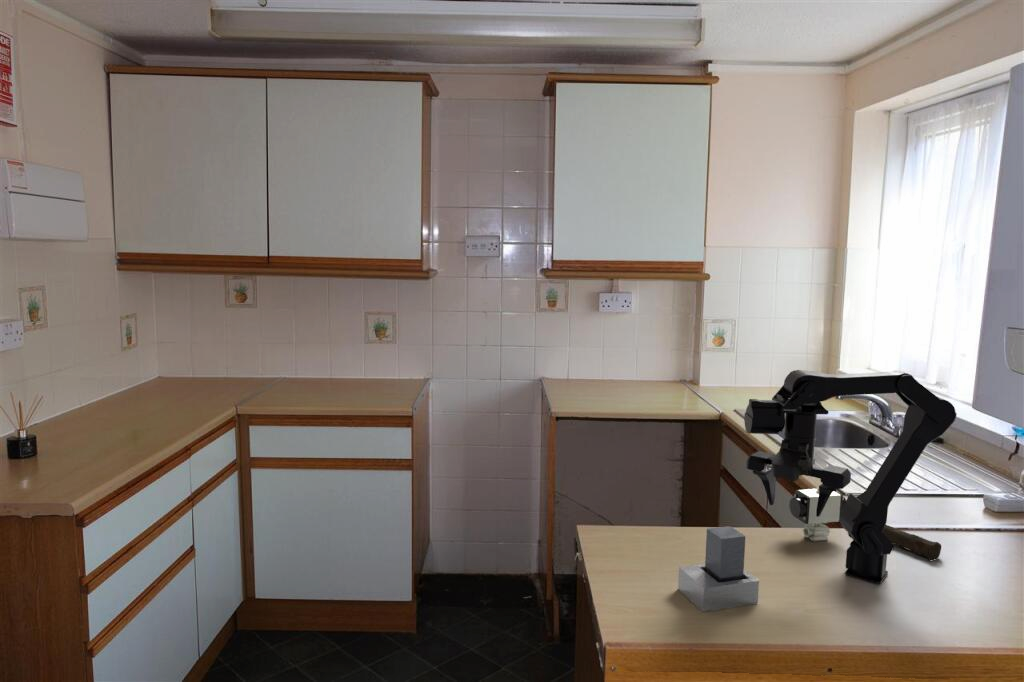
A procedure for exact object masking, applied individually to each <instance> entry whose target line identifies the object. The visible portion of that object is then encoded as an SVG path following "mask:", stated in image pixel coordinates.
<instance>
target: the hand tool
mask: <svg viewBox="0 0 1024 682" xmlns="http://www.w3.org/2000/svg"><path fill="white" fill-rule="evenodd" d="M882 533H883V534H884V535H885V536H886V537H887V538H888V539H889V540H890V541H891V542H892V543H893V544H894V545H896V546H899V547H901V548H903V549H906V550H908V551H911V552H913V553H916V554H918V555H920V556H925V557H927V558H928V560H929V561H930V560H933V561H935V560H934V559H936V560H938V559H939V557H940V555H941V551H942V545H941V543H940V542H938V541H932V540H929V539H926V538H924V537H921V536H919V535H916V534H913V533H909V532H906V531H904V530H901V529H898V528H895V527H893V526H890V525H888V524H886V525H885V527H884V530H883V532H882Z"/></svg>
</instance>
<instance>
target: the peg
mask: <svg viewBox="0 0 1024 682" xmlns="http://www.w3.org/2000/svg"><path fill="white" fill-rule="evenodd" d="M705 542H706V543H705V558H704V559H705V561H704V564H705V572H706V573H707V574H708V575H710V576H711V577H712V578H713V579H715V580H716V581H717V582H718V583H721V582H728V581H735V580H742V579H743V573H744V570H745V553H746V552H745V551H746V550H745V548H746V535H744V534H743V533H741V532H740V531H738V530H737V529H735V528H733V526H731V525H727V526H719V527H711V528H710V527H709V528H706V539H705Z"/></svg>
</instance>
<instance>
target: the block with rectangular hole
mask: <svg viewBox="0 0 1024 682" xmlns="http://www.w3.org/2000/svg"><path fill="white" fill-rule="evenodd" d="M677 580H678V585H677V590H678V589H679V590H680V591H679V592H680V593H682V594H683V595H684V597H686V598H687V599H688V600H689V601H690V602H691V603H692V604H694V606H696V607H697V608H698V610H700V611H701V612H702V613H704V612H713V611H718V610H725V609H732V608H738V607H745V606H752V605H758V604H759V603H758V601H759V590H760V589H759V588H760V587H759V586H760V580H759V579H758V578H756V577H755V576H754V575H752V574H751V573H749V572H748V571H747V570H746V569H744V573H743V579H742V580H735V581H728V582H721V583H718V582H717V581H716V580H715V579H713V578H712V577H711V576H710V575H708V574H707V573H706V572H705V563H698V564H691V565H685V566H684V565H683V566H679V567H678V579H677Z"/></svg>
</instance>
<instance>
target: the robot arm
mask: <svg viewBox="0 0 1024 682" xmlns="http://www.w3.org/2000/svg"><path fill="white" fill-rule="evenodd" d="M879 394H880V395H881V394H885V395H886V394H896V395H897V397H898V398H899V399H900V400H901V401H902V402H903V403H904V404H905V405H906V406H907V408H906V411H905V413H904V419H903V427H902V428H903V429H902V432H901V434H900V435H899V437H898V438H897V440H896V442H895V443H894V445H893V446H892V448H891V450H890V451H889V453H888V454H887V456H886V457H885V459H884V461H883V463H882V464H881V465H880V467H879V469H878V470H877V472H876V473H875V475H874V476H873V479H872V480H871V482H870V483H869V484H868V486H867V487H866V489H865V491H864V492H862V493H860V494H859V495H857V496H855V495H854V494H853V493H850V494H848V496H847V498H846V502H845V504H844V505H843V506H842V507H841V508H840V510H841V511H842V512H841V514H840V517H839V519H840V521H839V522H840V525H841V526H842V528H843V529H844V530H845V531H846V532H847V535H848V537H849V538H851V539H852V541H851V542H849V543H850V544H849V546H848V548H847V549H846V558H845V569H846V571H845V573H844V574H845V575H846V576H849V577H853V578H857V579H858V580H859V579H860V580H864V581H867V582H871V583H874V584H876V585H881V584H882V582H883V581H884V580H885V578H886V577H887V576H888V573H889V571H888V570H887V561H888V555H891V553H892V551H893V550H894V547H895V544H893V543H892V542H891V541H890V540H889V539H888V538H887V537H886V536H885V535H884V534H883V533H882V532H883V530H884V527H885V525H887V522H888V513H889V512H888V511H889V506H890V504H891V502H892V501H893V499H894V497H895V496H896V494H897V493H898V491H899V490H900V489H901V486H902V485H903V483H904V482H905V480H906V479H907V477H908V476H909V474H910V472H911V471H912V469H913V467H914V466H915V464H916V463H917V461H918V460H919V458H920V457H921V455H922V453H923V452H924V450H925V449H926V448H927V446H928V445H929V444H930V443H932V442H933V441H935V440H936V439H938V438H939V437H942V436H943V435H944V434H945V433H946V431H947V430H948V429H949V428H950V427H951V426H952V425H953V424H954V423H955V420H956V418H957V412H956V408H955V406H954V405H953V404H952V403H951V402H950V401H949V400H946V399H943V398H941V397H939V396H937V395H935V393H933V392H931V391H930V390H929V389H928V388H926V387H925V386H924V385H923V384H921V383H920V382H918V380H917V379H916V378H914V376H913V375H912V374H909V373H907V372H905V371H902V370H897V369H896V370H891V371H884V372H883V371H882V372H881V371H880V372H879V371H878V372H863V373H862V372H860V373H857V372H856V373H843V374H842V373H840V374H839V373H838V374H831V373H830V374H829V373H823V372H818V371H812V370H803V369H797V370H792V371H789V374H787V376H786V377H785V378H784V382H783V385H782V386H781V387H780V389H779V390H777V392H776V393H775V394H774V395H773V396H772V398H771V399H769V400H766V399H757V398H748V404H747V407H746V410H745V412H744V420H743V421H744V422H743V423H744V428H745V431H746V433H747V434H751V435H752V434H753V435H755V434H757V435H758V434H761V435H778V434H779V433H780V432H783V431H784V433H783V439H781V443H780V448H779V450H778V452H777V453H776V454H775V453H772V452H766V451H761V450H758V451H756V452H754V453H752V454H750V455H749V456H748V457H747V459H746V467H745V468H746V469H747V470H748V471H749V470H751V471H752V474H753V475H756V476H757V477H758V478H759V479H760V480H761V482H762V484H763V487H764V490H765V495H766V497H767V499H768V503H769V505H770V506H773V505H774V504H775V498H776V486H777V484H776V483H777V479H779V478H780V479H785V480H788V481H790V482H796V481H798V480H799V477H800V476H801V477H802V476H806V477H811V478H812V477H813V478H817V479H820V483H821V484H820V485H818V487H819V497H818V503H817V509H816V516H817V517H819V516H820V515H821V513H822V511H823V509H824V507H825V505H826V503H827V501H828V499H829V497H830V495H831V494H832V492H833V491H837V490H843V489H844V488H846V487H847V486H848V485H849V484H850V483H851V478H852V474H851V471H850V470H849V468H847V467H841V466H838V465H831V464H829V465H828V466H826V467H825V468H820V467H816V466H814V465H815V464H816V458H814V457H815V445H816V444H817V438H816V432H817V431H816V428H817V416H818V415H828V414H829V410H828V409H826V408H825V407H824V405H823V404H822V402H825V401H828V400H830V399H832V398H836V397H839V396H841V397H842V396H860V395H861V396H862V395H865V396H866V395H879ZM783 429H784V430H783Z"/></svg>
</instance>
